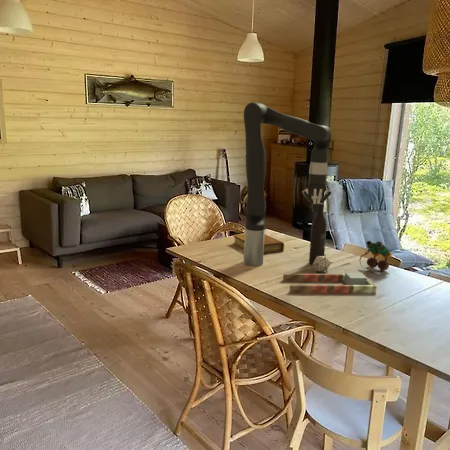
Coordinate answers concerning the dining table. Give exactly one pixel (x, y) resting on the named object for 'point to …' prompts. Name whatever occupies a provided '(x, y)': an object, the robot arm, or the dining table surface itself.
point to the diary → (269, 243)
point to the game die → (321, 263)
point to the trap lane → (327, 288)
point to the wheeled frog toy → (377, 250)
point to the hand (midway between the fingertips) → (315, 212)
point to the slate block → (355, 279)
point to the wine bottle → (318, 235)
